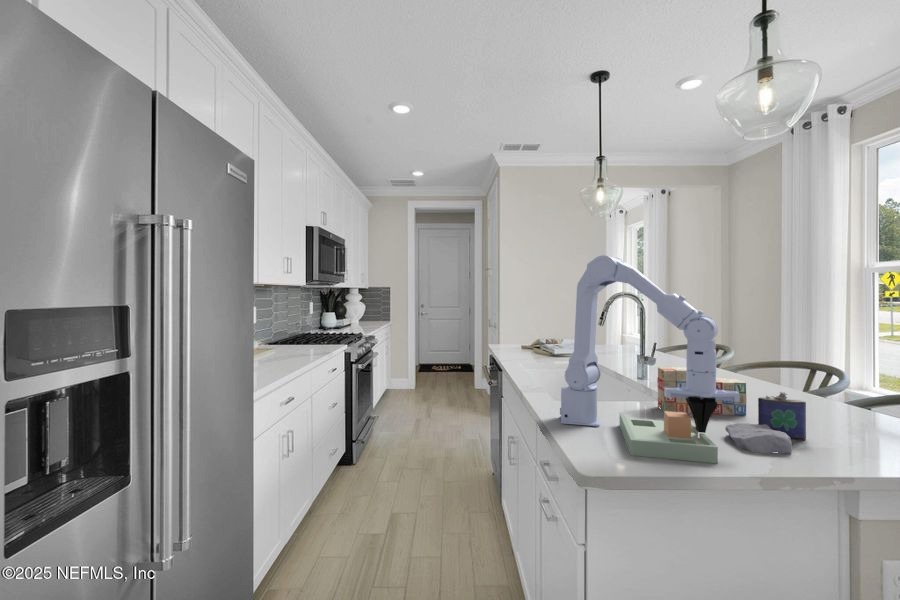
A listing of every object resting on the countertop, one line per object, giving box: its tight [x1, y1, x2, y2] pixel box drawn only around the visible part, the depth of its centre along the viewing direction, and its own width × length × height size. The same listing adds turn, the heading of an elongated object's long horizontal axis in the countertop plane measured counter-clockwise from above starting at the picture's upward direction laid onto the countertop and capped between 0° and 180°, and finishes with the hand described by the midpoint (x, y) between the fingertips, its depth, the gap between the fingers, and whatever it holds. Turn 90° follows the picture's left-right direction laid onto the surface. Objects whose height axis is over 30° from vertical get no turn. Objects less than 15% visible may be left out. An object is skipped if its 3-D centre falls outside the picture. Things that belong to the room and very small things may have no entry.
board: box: [619, 412, 719, 464], centre depth 96 cm, size 16×21×3 cm
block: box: [663, 411, 692, 439], centre depth 95 cm, size 4×4×4 cm
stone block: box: [724, 422, 793, 454], centre depth 95 cm, size 12×5×10 cm
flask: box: [757, 391, 807, 441], centre depth 99 cm, size 9×3×11 cm, turn 70°
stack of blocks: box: [656, 366, 747, 416], centre depth 122 cm, size 21×6×12 cm, turn 80°
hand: (700, 431), depth 94 cm, fingers closed
